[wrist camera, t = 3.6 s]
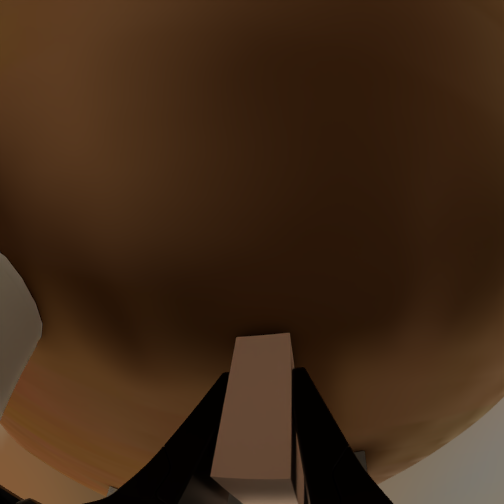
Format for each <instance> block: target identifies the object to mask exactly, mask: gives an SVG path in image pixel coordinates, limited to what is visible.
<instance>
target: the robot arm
mask: <svg viewBox="0 0 504 504" xmlns="http://www.w3.org/2000/svg"><path fill="white" fill-rule="evenodd" d="M229 374H230V372H224V373H223V374H222V375H221V376H220V377H219V379H218V380H217V381H216V383H215V384H214V385H213V386H212V388H211V389H210V390H209V391H208V393H207V394H206V395H205V397H204V398H203V399H202V400H201V402H200V403H199V404H198V405H197V406H196V408H195V409H194V410H193V411H192V413H191V414H190V415H189V416H188V418H187V419H186V420H185V421H184V422H183V424H182V425H181V426H180V427H179V428H178V430H177V431H176V432H175V433H174V434H173V436H172V437H171V438H170V439H169V440H168V441H167V443H166V444H165V445H164V446H165V447H162V448H161V450H160V451H159V452H158V453H157V454H156V455H155V456H154V457H153V458H152V459H151V461H150V462H149V463H148V464H147V465H146V466H145V467H143V468H142V469H141V470H140V471H139V472H138V473H137V474H136V475H135V476H133V477H132V478H131V479H130V480H129V481H127V482H126V483H125V484H124V485H123V486H121V487H120V488H119V489H118V490H117V491H115V492H114V493H113V494H111V495H109V496H108V497H106V498H103V499H101V500H97V501H93V502H89V503H84V504H227V502H228V497H229V492H228V491H227V490H225V489H224V488H223V487H222V486H221V485H220V484H218V483H217V482H216V481H215V480H214V479H213V478H212V477H210V475H211V469H212V464H213V459H214V453H215V448H216V443H217V437H218V432H219V427H220V422H221V416H222V411H223V406H224V400H225V395H226V390H227V384H228V379H229ZM292 407H293V413H294V420H295V427H296V433H297V439H298V445H299V451H300V457H301V462H302V468H303V474H304V480H305V486H306V492H307V498H308V504H393V503H392V501H390V499H389V498H388V497H387V496H386V495H385V494H384V492H383V491H382V490H381V489H380V488H379V487H378V485H377V484H376V483H375V482H374V481H373V480H372V478H371V477H370V476H369V474H368V473H367V472H366V470H365V469H364V468H363V466H362V465H361V463H360V462H359V460H358V459H357V457H356V455H355V454H354V452H353V450H352V449H351V447H349V444H348V442H347V440H346V439H345V437H344V435H343V433H342V432H341V430H340V428H339V427H338V425H337V423H336V421H335V420H334V418H333V416H332V415H331V413H330V411H329V409H328V408H327V406H326V404H325V402H324V401H323V399H322V397H321V395H320V394H319V392H318V390H317V388H316V387H315V385H314V383H313V381H312V380H311V378H310V376H309V374H308V373H307V371H306V369H305V368H303V367H301V368H293V369H292ZM0 504H41V503H39V502H37V501H35V500H33V499H30V498H29V499H25V500H24V499H22V498H20V497H19V496H17V495H15V494H14V493H12V492H11V491H9V490H7V489H6V488H4V487H3V486H1V485H0Z"/></svg>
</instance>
